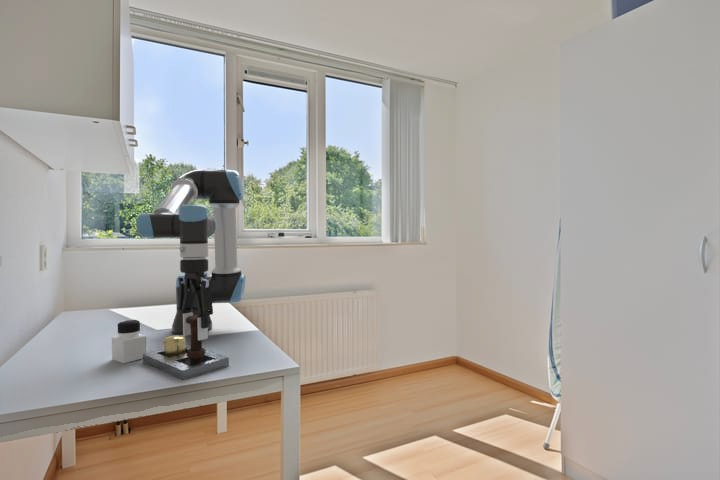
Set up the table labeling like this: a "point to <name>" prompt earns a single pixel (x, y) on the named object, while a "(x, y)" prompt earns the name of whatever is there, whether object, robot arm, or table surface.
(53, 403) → the table surface
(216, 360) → the hole plate
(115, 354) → the medicine bottle
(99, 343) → the table surface
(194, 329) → the bolt
